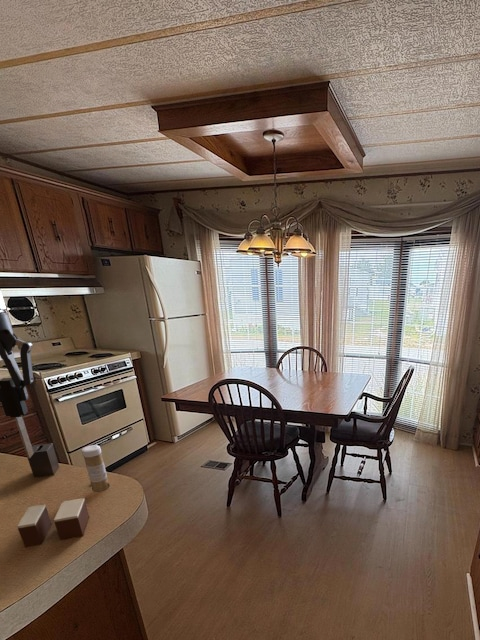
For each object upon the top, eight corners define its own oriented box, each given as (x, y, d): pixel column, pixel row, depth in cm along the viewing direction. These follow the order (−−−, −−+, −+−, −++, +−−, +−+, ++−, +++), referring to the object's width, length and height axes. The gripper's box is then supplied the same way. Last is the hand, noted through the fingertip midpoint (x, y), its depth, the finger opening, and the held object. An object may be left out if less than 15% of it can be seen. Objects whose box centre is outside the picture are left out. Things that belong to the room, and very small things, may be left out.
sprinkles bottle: (98, 484, 104) (87, 444, 99) (113, 484, 104) (103, 444, 99) (88, 492, 100) (77, 451, 95) (104, 492, 100) (93, 451, 95)
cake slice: (36, 526, 85) (29, 506, 83) (51, 524, 86) (45, 504, 84) (24, 547, 79) (16, 526, 76) (42, 544, 80) (34, 523, 77)
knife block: (41, 473, 109) (32, 445, 105) (60, 471, 111) (52, 443, 107) (35, 482, 104) (25, 453, 100) (55, 479, 106) (46, 450, 102)
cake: (68, 521, 88) (62, 501, 85) (89, 517, 90) (84, 497, 87) (60, 540, 81) (53, 519, 79) (83, 536, 83) (77, 515, 80)
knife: (28, 453, 88) (3, 377, 80) (37, 452, 89) (14, 377, 81) (24, 458, 86) (-3, 381, 78) (33, 457, 86) (8, 380, 78)
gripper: (-74, 311, 68) (-31, 422, 77) (21, 313, 73) (50, 416, 82) (-53, 309, 74) (-16, 411, 83) (33, 310, 80) (59, 406, 89)
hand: (17, 413), depth 83 cm, fingers closed on knife, 2 cm apart
